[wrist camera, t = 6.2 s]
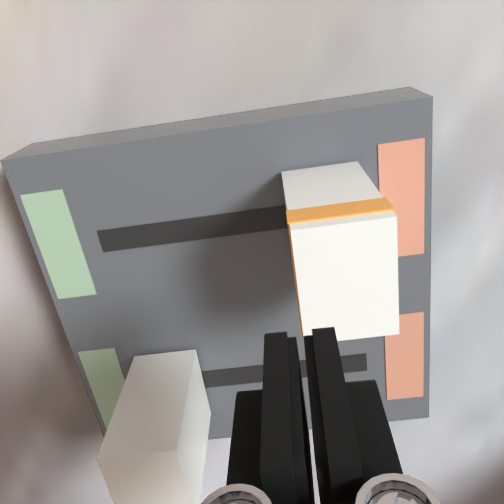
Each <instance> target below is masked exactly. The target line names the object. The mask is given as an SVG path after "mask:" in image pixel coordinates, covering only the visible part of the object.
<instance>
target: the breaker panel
mask: <svg viewBox="0 0 504 504" xmlns="http://www.w3.org/2000/svg"><path fill="white" fill-rule="evenodd" d="M432 113H433V96H430V95H428V94H425V93H423V92H421V91H418V90H416V89H414V88H411V87H406V88H399V89H393V90H386V91H379V92H373V93H366V94H359V95H353V96H346V97H339V98H333V99H326V100H319V101H312V102H306V103H299V104H292V105H286V106H279V107H272V108H266V109H259V110H252V111H246V112H239V113H232V114H226V115H219V116H212V117H206V118H199V119H192V120H186V121H179V122H172V123H166V124H159V125H152V126H146V127H139V128H132V129H125V130H119V131H112V132H105V133H99V134H92V135H85V136H79V137H72V138H65V139H59V140H52V141H45V142H39V143H32V144H30V145H28V146H26V147H24V148H23V149H21V150H19V151H17V152H15V153H13V154H11V155H10V156H8V157H6V158H4V159H2V160H0V161H1V164H2V167H3V169H4V172H5V175H6V177H7V180H8V183H9V185H10V188H11V191H12V193H13V196H14V199H15V201H16V204H17V207H18V209H19V212H20V214H21V217H22V220H23V222H24V225H25V228H26V230H27V233H28V236H29V238H30V241H31V244H32V246H33V249H34V252H35V254H36V257H37V260H38V262H39V265H40V268H41V270H42V273H43V276H44V278H45V281H46V284H47V286H48V289H49V292H50V294H51V297H52V300H53V302H54V305H55V308H56V310H57V313H58V316H59V318H60V321H61V324H62V326H63V329H64V332H65V334H66V337H67V340H68V342H69V345H70V348H71V350H72V353H73V356H74V358H75V361H76V364H77V366H78V369H79V372H80V374H81V377H82V380H83V382H84V385H85V388H86V390H87V393H88V396H89V398H90V401H91V404H92V406H93V409H94V412H95V414H96V417H97V419H98V422H99V425H100V427H101V430H102V433H103V435H104V439H103V442H102V445H101V447H100V450H99V453H98V455H97V458H96V459H97V461H98V464H99V466H100V469H101V471H102V474H103V476H104V479H105V481H106V484H107V487H108V489H109V492H110V494H111V497H112V499H113V502H114V504H200V500H201V492H202V484H203V475H204V467H205V459H206V450H207V442H208V439H218V438H228V437H232V428H233V418H234V409H235V400H236V394H237V392H238V391H249V390H260V389H262V386H263V357H264V334H266V333H276V332H286V331H287V335H288V337H296V338H297V345H298V353H299V360H300V368H301V376H302V383H303V391H304V399H305V406H306V414H307V422H308V429H312V422H311V411H310V400H309V390H308V379H307V368H306V358H305V347H304V338H303V337H302V335H301V328H300V321H299V313H298V305H297V297H296V289H295V281H294V273H293V265H292V257H291V249H290V241H289V233H288V225H287V217H286V206H285V198H284V190H283V182H282V173H281V172H283V171H290V170H297V169H304V168H312V167H319V166H326V165H333V164H340V163H347V162H355V161H358V163H359V164H360V166H361V167H362V168H363V170H364V171H365V173H366V174H367V175H368V177H369V178H370V180H371V181H372V182H373V184H374V185H375V187H376V188H377V189H378V191H379V192H380V194H381V195H382V196H383V198H384V197H386V198H387V199H388V201H389V202H390V203H391V205H392V206H393V207H394V213H395V214H396V216H397V240H398V289H399V334H396V335H387V336H378V337H370V338H361V339H352V340H343V341H337V343H338V348H339V352H340V357H341V362H342V367H343V372H344V377H345V382H351V381H363V380H374V379H375V381H376V383H377V386H378V389H379V393H380V396H381V400H382V403H383V407H384V410H385V413H386V417H387V420H388V421H397V420H407V419H417V418H427V417H429V364H430V280H431V197H432Z"/></svg>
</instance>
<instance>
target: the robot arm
mask: <svg viewBox="0 0 504 504" xmlns="http://www.w3.org/2000/svg"><path fill="white" fill-rule="evenodd" d="M303 337H304V347H305V358H306V368H307V379H308V390H309V400H310V411H311V422H312V432H313V443H314V453H315V463H316V472H317V480H318V488H319V496H320V504H441V502H440V500H439V499H438V497H437V496H436V495H435V493H434V492H433V491H432V489H430V488H429V487H428V486H427V485H425V484H424V483H423V482H422V481H420V480H418V479H415V478H413V477H411V476H409V475H403V472H402V469H401V465H400V462H399V458H398V455H397V451H396V448H395V444H394V441H393V438H392V434H391V431H390V427H389V424H388V420H387V417H386V413H385V410H384V407H383V403H382V400H381V396H380V393H379V389H378V386H377V383H376V381H375V379H374V380H363V381H351V382H345V377H344V372H343V367H342V362H341V357H340V352H339V348H338V343H337V338H336V333H335V328H334V327H326V328H316V329H312V335H307V336H303ZM201 504H315V500H314V488H313V477H312V465H311V453H310V441H309V431H308V422H307V414H306V406H305V399H304V391H303V383H302V376H301V368H300V360H299V353H298V345H297V338H296V337H288V335H287V331H286V332H276V333H266V334H264V357H263V386H262V389H260V390H249V391H238V392H237V394H236V400H235V409H234V418H233V428H232V437H231V446H230V456H229V465H228V474H227V484H226V486H224V487H222V488H219V489H217V490H216V491H214V492H213V493H211V494H210V495H208V497H207V498H206V499H205V500H204V501H203V502H202V503H201Z"/></svg>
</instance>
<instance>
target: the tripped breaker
mask: <svg viewBox="0 0 504 504" xmlns="http://www.w3.org/2000/svg"><path fill="white" fill-rule="evenodd" d="M281 173H282V182H283V190H284V198H285V206H286V217H287V225H288V233H289V241H290V249H291V257H292V265H293V273H294V281H295V289H296V297H297V305H298V313H299V321H300V328H301V335H302V337H303V336H307V335H312V329H316V328H326V327H334V328H335V333H336V338H337V341H343V340H352V339H361V338H370V337H378V336H387V335H396V334H399V289H398V240H397V216H396V214H395V213H394V207H393V206H392V205H391V203H390V202H389V201H388V199H387V198H386V197H384V198H383V196H382V195H381V194H380V192H379V191H378V189H377V188H376V187H375V185H374V184H373V182H372V181H371V180H370V178H369V177H368V175H367V174H366V173H365V171H364V170H363V168H362V167H361V166H360V164H359V163H358V161H355V162H347V163H340V164H333V165H326V166H319V167H312V168H304V169H297V170H290V171H283V172H281ZM303 338H304V337H303Z"/></svg>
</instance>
